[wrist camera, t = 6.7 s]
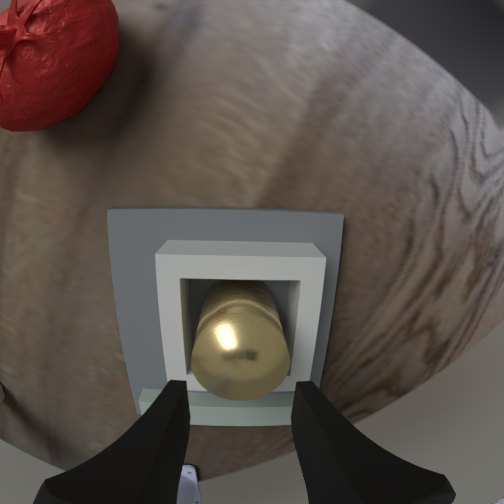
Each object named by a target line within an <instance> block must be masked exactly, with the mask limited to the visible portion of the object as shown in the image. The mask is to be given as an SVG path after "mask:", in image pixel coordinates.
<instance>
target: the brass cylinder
mask: <svg viewBox="0 0 504 504" xmlns="http://www.w3.org/2000/svg"><path fill="white" fill-rule="evenodd" d="M191 367H192V371H193V374H194V376H195V378H196V379H197V381H198V382H199V383H200V385H201V386H202V387H203V388H205V389H206V390H207V391H209V392H210V393H212V394H214V395H216V396H218V397H221V398H224V399H228V400H235V401H246V400H252V399H257V398H260V397H263V396H265V395H267V394H269V393H271V392H272V391H274V390H275V389H276V388H277V387H278V386H279V385H280V384H281V383H282V382H283V381H284V379H285V378H286V376H287V373H288V371H289V367H290V356H289V352H288V348H287V344H286V341H285V337H284V333H283V330H282V326H281V323H280V319H279V315H278V312H277V308H276V304H275V301H274V297H273V295H272V292H271V291H270V289H269V288H268V286H267V285H266V284H265V283H263V282H262V281H261V280H235V279H219V280H217V281H216V282H215V283H213V284H212V285H211V287H210V288H209V289H208V291H207V293H206V295H205V297H204V301H203V306H202V310H201V315H200V319H199V324H198V328H197V333H196V337H195V342H194V347H193V351H192V356H191Z"/></svg>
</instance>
